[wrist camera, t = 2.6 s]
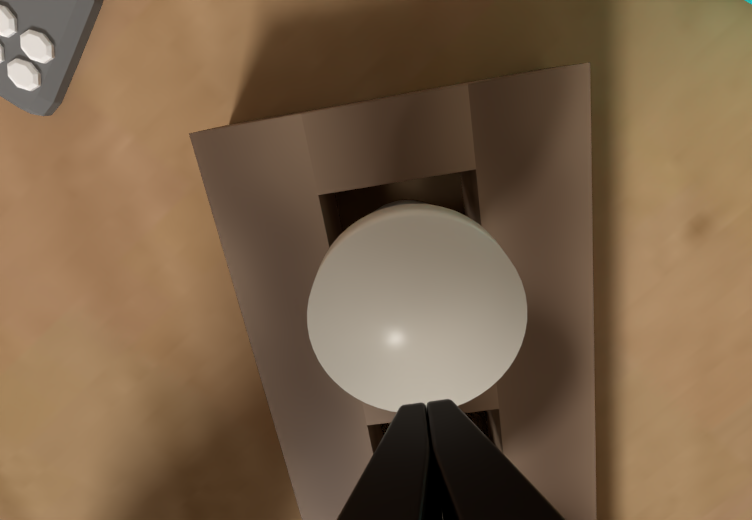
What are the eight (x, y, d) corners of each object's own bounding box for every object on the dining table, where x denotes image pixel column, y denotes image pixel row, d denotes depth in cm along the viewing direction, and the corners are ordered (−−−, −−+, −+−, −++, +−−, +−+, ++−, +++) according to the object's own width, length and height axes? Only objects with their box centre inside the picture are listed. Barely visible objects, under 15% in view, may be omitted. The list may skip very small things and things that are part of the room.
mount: (358, 620, 27) (354, 700, 24) (228, 124, 18) (189, 133, 14) (569, 600, 26) (598, 680, 23) (547, 68, 17) (590, 62, 13)
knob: (346, 329, 17) (330, 425, 12) (316, 189, 15) (284, 235, 10) (490, 308, 17) (533, 399, 12) (476, 162, 15) (520, 198, 10)
